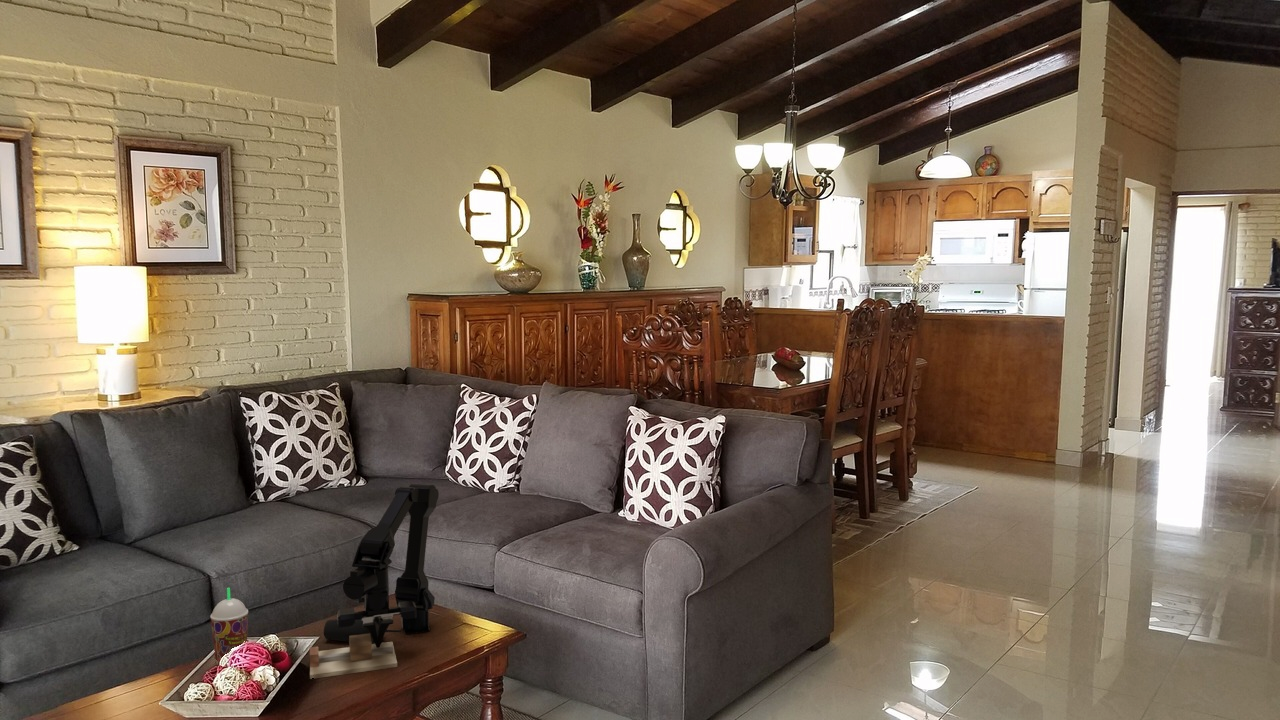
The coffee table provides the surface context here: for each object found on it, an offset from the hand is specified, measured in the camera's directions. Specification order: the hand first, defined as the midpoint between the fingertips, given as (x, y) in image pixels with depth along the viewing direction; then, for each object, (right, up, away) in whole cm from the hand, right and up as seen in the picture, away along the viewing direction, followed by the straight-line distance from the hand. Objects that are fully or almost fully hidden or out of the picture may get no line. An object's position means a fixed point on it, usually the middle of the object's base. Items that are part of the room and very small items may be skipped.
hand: (378, 646), depth 222 cm
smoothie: (-34, -4, -6) cm, 35 cm away
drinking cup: (-17, +1, +12) cm, 20 cm away
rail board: (-6, -3, -2) cm, 7 cm away
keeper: (-4, -2, -1) cm, 4 cm away
